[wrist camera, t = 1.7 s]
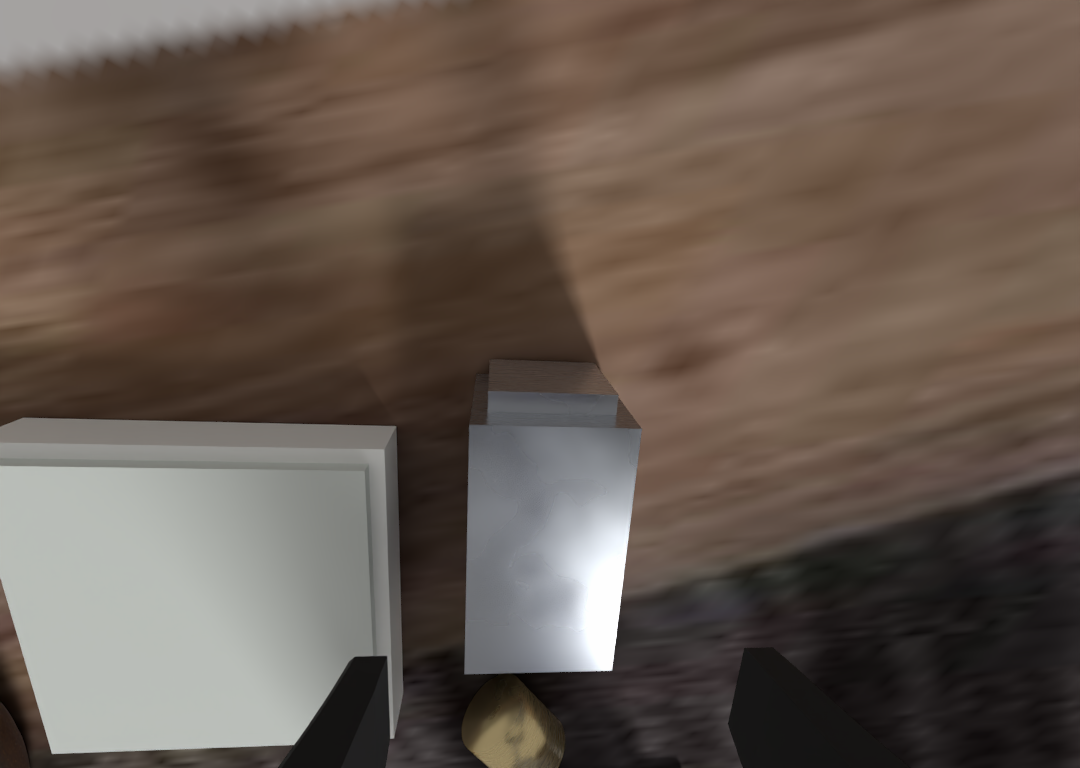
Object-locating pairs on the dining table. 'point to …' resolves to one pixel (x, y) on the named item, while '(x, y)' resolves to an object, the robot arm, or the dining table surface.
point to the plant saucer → (11, 743)
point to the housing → (546, 517)
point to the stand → (197, 575)
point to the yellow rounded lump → (512, 727)
